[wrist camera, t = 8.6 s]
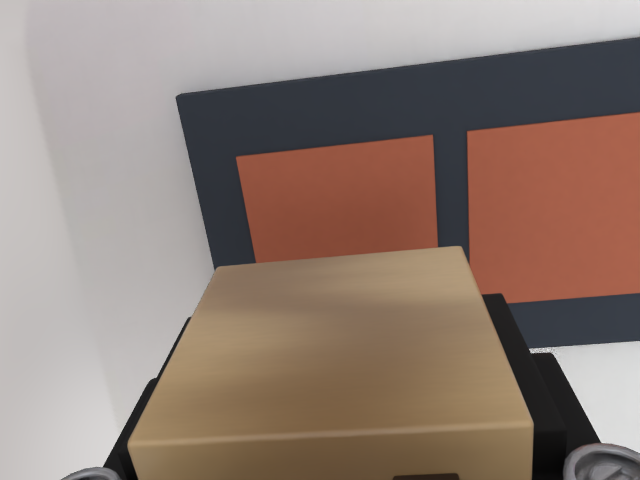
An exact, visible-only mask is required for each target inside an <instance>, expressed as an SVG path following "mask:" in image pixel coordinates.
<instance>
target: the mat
mask: <svg viewBox="0 0 640 480" xmlns="http://www.w3.org/2000/svg"><path fill="white" fill-rule="evenodd" d="M176 101H177V106H178V110H179V115H180V119H181V123H182V128H183V132H184V137H185V141H186V145H187V150H188V154H189V159H190V163H191V167H192V172H193V176H194V181H195V185H196V190H197V194H198V198H199V203H200V207H201V212H202V216H203V220H204V225H205V229H206V234H207V238H208V242H209V247H210V251H211V256H212V260H213V264H214V269H215V270H216V268H217V267H220V266H231V265H242V264H254V263H265V262H277V261H288V260H300V259H312V258H323V257H335V256H346V255H358V254H369V253H381V252H393V251H404V250H416V249H427V248H439V247H450V246H461V247H462V249H463V251H464V254H465V256H466V259H467V261H468V264H469V266H470V268H471V271H472V273H473V276H474V278H475V281H476V283H477V286H478V288H479V290H480V293H481V294H494V293H502V295H503V296H504V298H505V300H506V303H507V305H508V307H509V309H510V311H511V313H512V315H513V317H514V319H515V321H516V324H517V326H518V328H519V330H520V332H521V334H522V336H523V338H524V340H525V342H526V344H527V347H528V349H531V348H545V347H559V346H573V345H587V344H601V343H615V342H629V341H640V37H639V38H630V39H622V40H614V41H606V42H598V43H590V44H582V45H574V46H565V47H557V48H549V49H541V50H533V51H525V52H517V53H509V54H500V55H492V56H484V57H476V58H468V59H460V60H452V61H443V62H435V63H427V64H419V65H411V66H403V67H395V68H387V69H378V70H370V71H362V72H354V73H346V74H338V75H330V76H322V77H313V78H305V79H297V80H289V81H281V82H273V83H265V84H257V85H248V86H240V87H232V88H224V89H216V90H208V91H200V92H191V93H183V94H180V95H178V96H176Z"/></svg>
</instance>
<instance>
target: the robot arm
mask: <svg viewBox="0 0 640 480" xmlns="http://www.w3.org/2000/svg"><path fill="white" fill-rule="evenodd" d="M481 295H482V298H483V300H484V303H485V305H486V308H487V310H488V313H489V315H490V317H491V320H492V322H493V325H494V327H495V330H496V332H497V335H498V337H499V339H500V342H501V344H502V347H503V349H504V352H505V354H506V357H507V359H508V362H509V364H510V366H511V369H512V371H513V374H514V376H515V379H516V381H517V384H518V386H519V388H520V391H521V393H522V396H523V398H524V401H525V403H526V406H527V408H528V411H529V413H530V415H531V418H532V420H533V423H534V433H533V460H532V480H640V453H638V452H635V451H633V450H631V449H629V448H626V447H622V446H618V445H614V444H605V443H601V442H600V440H599V438H598V436H597V434H596V432H595V430H594V429H593V427H592V425H591V423H590V421H589V419H588V417H587V416H586V414H585V412H584V410H583V408H582V406H581V404H580V403H579V401H578V399H577V397H576V395H575V393H574V391H573V390H572V388H571V386H570V384H569V382H568V380H567V378H566V377H565V375H564V373H563V371H562V369H561V367H560V365H559V364H558V362H557V360H556V358H555V357H554V355H553V354H552V353H550V352H549V353H533V354H531V353H530V351H529V349H528V347H527V344H526V342H525V340H524V338H523V336H522V334H521V332H520V330H519V328H518V326H517V324H516V321H515V319H514V317H513V315H512V313H511V311H510V309H509V307H508V305H507V303H506V300H505V298H504V296H503V295H502V293H494V294H481ZM190 319H191V317H189V318H188V319H187V320H186V322H185V324H184V326H183V328H182V330H181V332H180V334H179V336H178V338H177V340H176V341H175V343H174V345H173V347H172V349H171V351H170V353H169V355H168V357H167V359H166V361H165V363H164V365H163V366H162V368H161V370H160V372H159V374H158V376H157V378H154V379H152V380H150V381H149V383H148V384H147V386H146V387H145V389H144V391H143V393H142V395H141V397H140V399H139V401H138V402H137V404H136V406H135V408H134V410H133V412H132V414H131V415H130V417H129V419H128V421H127V423H126V425H125V427H124V429H123V430H122V432H121V434H120V436H119V438H118V440H117V442H116V443H115V445H114V447H113V449H112V451H111V453H110V455H109V457H108V458H107V460H106V462H105V464H104V466H103V467H93V468H86V469H83V470H80V471H77V472H74V473H72V474H70V475H68V476H66V477H64V478H63V479H61V480H138V477H137V474H136V471H135V468H134V465H133V462H132V459H131V456H130V454H129V451H128V440H129V438H130V436H131V435H132V433H133V431H134V429H135V427H136V425H137V423H138V421H139V419H140V417H141V415H142V413H143V411H144V409H145V407H146V405H147V403H148V401H149V399H150V397H151V395H152V393H153V392H154V390H155V388H156V386H157V384H158V382H159V380H160V378H161V376H162V374H163V372H164V370H165V368H166V366H167V364H168V362H169V360H170V358H171V356H172V354H173V352H174V350H175V348H176V347H177V345H178V343H179V341H180V339H181V337H182V335H183V333H184V331H185V329H186V327H187V325H188V323H189V321H190Z"/></svg>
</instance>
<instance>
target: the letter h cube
mask: <svg viewBox="0 0 640 480" xmlns="http://www.w3.org/2000/svg"><path fill="white" fill-rule="evenodd" d="M533 433H534V423H533V420H532V418H531V415H530V413H529V411H528V408H527V406H526V403H525V401H524V398H523V396H522V393H521V391H520V388H519V386H518V384H517V381H516V379H515V376H514V374H513V371H512V369H511V366H510V364H509V362H508V359H507V357H506V354H505V352H504V349H503V347H502V344H501V342H500V339H499V337H498V335H497V332H496V330H495V327H494V325H493V322H492V320H491V317H490V315H489V313H488V310H487V308H486V305H485V303H484V300H483V298H482V295H481V293H480V290H479V288H478V286H477V283H476V281H475V278H474V276H473V273H472V271H471V268H470V266H469V264H468V261H467V259H466V256H465V254H464V251H463V249H462V247H461V246H450V247H439V248H427V249H416V250H404V251H393V252H381V253H369V254H358V255H346V256H335V257H323V258H312V259H300V260H288V261H277V262H265V263H254V264H242V265H231V266H220V267H217V268H216V270H215V272H214V274H213V276H212V278H211V280H210V282H209V284H208V286H207V288H206V290H205V292H204V294H203V296H202V298H201V300H200V302H199V303H198V305H197V307H196V309H195V311H194V313H193V315H192V317H191V319H190V321H189V323H188V325H187V327H186V329H185V331H184V333H183V335H182V337H181V339H180V341H179V343H178V345H177V347H176V348H175V350H174V352H173V354H172V356H171V358H170V360H169V362H168V364H167V366H166V368H165V370H164V372H163V374H162V376H161V378H160V380H159V382H158V384H157V386H156V388H155V390H154V392H153V393H152V395H151V397H150V399H149V401H148V403H147V405H146V407H145V409H144V411H143V413H142V415H141V417H140V419H139V421H138V423H137V425H136V427H135V429H134V431H133V433H132V435H131V436H130V438H129V440H128V451H129V454H130V456H131V459H132V462H133V465H134V468H135V471H136V474H137V477H138V480H532V460H533Z"/></svg>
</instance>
